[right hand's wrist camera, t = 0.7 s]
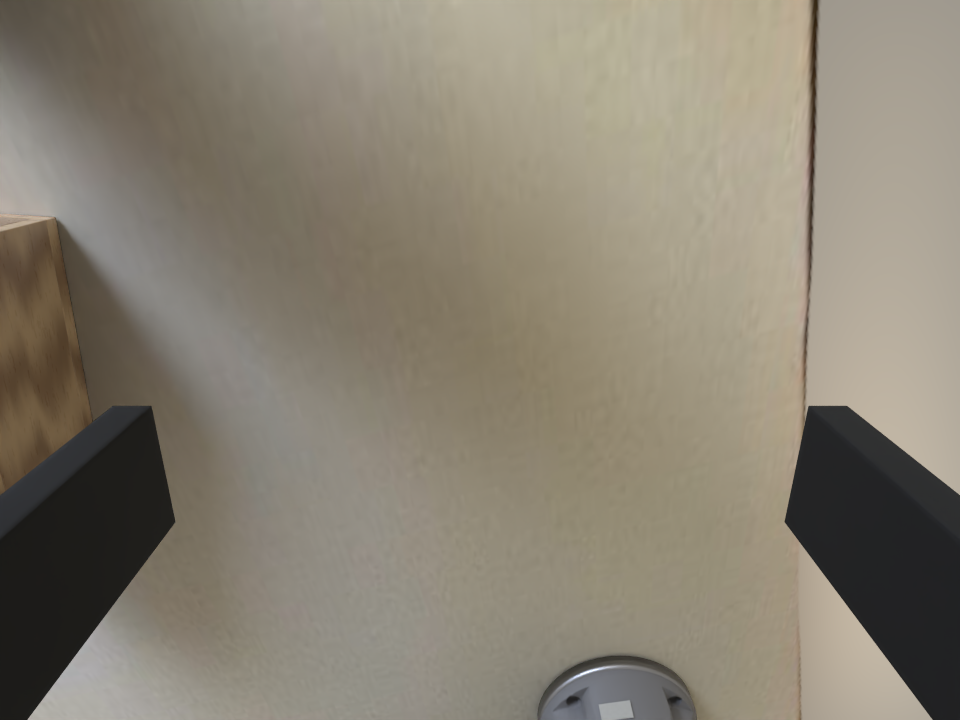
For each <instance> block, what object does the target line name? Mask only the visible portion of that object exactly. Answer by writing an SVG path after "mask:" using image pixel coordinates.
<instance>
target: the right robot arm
mask: <svg viewBox="0 0 960 720" xmlns="http://www.w3.org/2000/svg"><path fill="white" fill-rule="evenodd" d="M174 523H175V518H174V513H173V508H172V503H171V498H170V493H169V489H168V484H167V479H166V474H165V469H164V465H163V460H162V455H161V450H160V445H159V440H158V436H157V431H156V426H155V421H154V416H153V411H152V407H151V406H112V407H111V408H110V409H109V410H107V411H106V412H105V413H103V414H102V415H101V416H100V417H98V418H97V419H96V420H95V421H93V422H92V423H91V424H90V425H88V426H87V427H86V428H85V429H83V430H82V431H81V432H79V433H78V434H77V435H76V436H74V437H73V438H72V439H71V440H69V441H68V442H67V443H66V444H64V445H63V446H62V447H61V448H59V449H58V450H57V451H55V452H54V453H53V454H52V455H50V456H49V457H48V458H47V459H45V460H44V461H43V462H42V463H40V464H39V465H38V466H37V467H35V468H34V469H33V470H31V471H30V472H29V473H28V474H26V475H25V476H24V477H23V478H21V479H20V480H19V481H18V482H16V483H15V484H14V485H13V486H11V487H10V488H9V489H8V490H6V491H5V492H4V493H2V494H1V495H0V720H27V719H28V718H29V717H30V715H31V714H32V713H33V711H34V710H35V709H36V707H37V706H38V705H39V703H40V702H41V701H42V699H43V698H44V697H45V695H46V694H47V693H48V691H49V690H50V689H51V687H52V686H53V685H54V683H55V682H56V681H57V679H58V678H59V677H60V675H61V674H62V673H63V671H64V670H65V669H66V667H67V666H68V665H69V663H70V662H71V661H72V659H73V658H74V657H75V655H76V654H77V653H78V651H79V650H80V649H81V647H82V646H83V645H84V643H85V642H86V641H87V639H88V638H89V637H90V635H91V634H92V633H93V631H94V630H95V629H96V627H97V626H98V625H99V623H100V622H101V621H102V619H103V618H104V617H105V615H106V614H107V613H108V611H109V610H110V609H111V607H112V606H113V605H114V603H115V602H116V601H117V599H118V598H119V597H120V595H121V594H122V593H123V591H124V590H125V589H126V587H127V586H128V585H129V583H130V582H131V581H132V579H133V578H134V577H135V575H136V574H137V573H138V571H139V570H140V569H141V567H142V566H143V564H144V563H145V562H146V560H147V559H148V558H149V556H150V555H151V554H152V552H153V551H154V550H155V548H156V547H157V546H158V544H159V543H160V542H161V540H162V539H163V538H164V536H165V535H166V534H167V532H168V531H169V530H170V528H171V527H172V526H173V524H174ZM785 523H786V524H787V526H788V527H789V528H790V530H791V531H792V532H793V534H794V535H795V536H796V538H797V539H798V540H799V542H800V543H801V544H802V546H803V547H804V548H805V550H806V551H807V552H808V554H809V555H810V556H811V558H812V559H813V560H814V562H815V563H816V564H817V566H818V567H819V568H820V570H821V571H822V573H823V574H824V575H825V576H826V578H827V579H828V580H829V582H830V583H831V585H832V586H833V587H834V589H835V590H836V591H837V592H838V594H839V595H840V596H841V598H842V599H843V600H844V602H845V603H846V605H847V606H848V607H849V609H850V610H851V611H852V613H853V614H854V615H855V616H856V618H857V619H858V621H859V622H860V623H861V624H862V626H863V627H864V629H865V630H866V631H867V633H868V634H869V635H870V637H871V638H872V639H873V641H874V642H875V643H876V645H877V646H878V647H879V649H880V650H881V651H882V653H883V654H884V655H885V657H886V658H887V659H888V661H889V662H890V663H891V665H892V666H893V667H894V669H895V670H896V671H897V673H898V674H899V675H900V677H901V678H902V679H903V681H904V682H905V683H906V685H907V686H908V687H909V689H910V690H911V691H912V693H913V694H914V695H915V697H916V698H917V699H918V701H919V702H920V703H921V705H922V706H923V707H924V709H925V710H926V711H927V713H928V714H929V715H930V717H931V718H932V719H933V720H960V495H959V494H958V493H956V492H955V491H954V490H952V489H951V488H950V487H949V486H947V485H946V484H945V483H944V482H942V481H941V480H940V479H939V478H937V477H936V476H935V475H934V474H932V473H931V472H930V471H928V470H927V469H926V468H925V467H923V466H922V465H921V464H920V463H918V462H917V461H916V460H915V459H913V458H912V457H911V456H910V455H908V454H907V453H906V452H905V451H903V450H902V449H901V448H899V447H898V446H897V445H896V444H894V443H893V442H892V441H891V440H889V439H888V438H887V437H886V436H884V435H883V434H882V433H881V432H879V431H878V430H877V429H875V428H874V427H873V426H872V425H870V424H869V423H868V422H867V421H865V420H864V419H863V418H862V417H860V416H859V415H858V414H857V413H855V412H854V411H853V410H851V409H850V408H849V407H848V406H809V407H808V411H807V416H806V421H805V426H804V431H803V436H802V440H801V445H800V450H799V455H798V460H797V465H796V469H795V474H794V479H793V484H792V489H791V493H790V498H789V503H788V508H787V513H786V518H785ZM538 720H697V716H696V710H695V707H694V704H693V702H692V699H691V696H690V693H689V691H688V689H687V687H686V685H685V684H684V682H683V681H682V680H681V679H680V678H679V677H678V676H677V675H676V674H675V673H674V672H672V671H671V670H670V669H668V668H666V667H665V666H663V665H661V664H659V663H656V662H653V661H651V660H647V659H643V658H638V657H630V656H611V657H603V658H598V659H594V660H590V661H587V662H584V663H582V664H579V665H577V666H575V667H573V668H571V669H569V670H568V671H566V672H564V673H563V674H562V675H560V676H559V677H558V678H557V679H556V680H555V681H553V682H552V684H551V685H550V686H549V687H548V688H547V690H546V691H545V693H544V694H543V696H542V698H541V701H540V703H539V707H538Z"/></svg>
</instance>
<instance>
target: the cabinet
mask: <svg viewBox="0 0 960 720" xmlns="http://www.w3.org/2000/svg"><path fill="white" fill-rule="evenodd" d="M92 422H93V421H92V416H91V410H90V405H89V399H88V394H87V388H86V383H85V377H84V372H83V366H82V361H81V355H80V350H79V344H78V339H77V333H76V328H75V322H74V317H73V311H72V305H71V300H70V294H69V289H68V283H67V278H66V272H65V267H64V261H63V256H62V250H61V245H60V239H59V234H58V228H57V223H56V218H54V217H41V216H26V215H10V214H0V495H1V494H2V493H4V492H5V491H6V490H8V489H9V488H10V487H11V486H13V485H14V484H15V483H16V482H18V481H19V480H20V479H21V478H23V477H24V476H25V475H26V474H28V473H29V472H30V471H31V470H33V469H34V468H35V467H37V466H38V465H39V464H40V463H42V462H43V461H44V460H45V459H47V458H48V457H49V456H50V455H52V454H53V453H54V452H55V451H57V450H58V449H59V448H61V447H62V446H63V445H64V444H66V443H67V442H68V441H69V440H71V439H72V438H73V437H74V436H76V435H77V434H78V433H79V432H81V431H82V430H83V429H85V428H86V427H87V426H88V425H90V424H91V423H92Z"/></svg>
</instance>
